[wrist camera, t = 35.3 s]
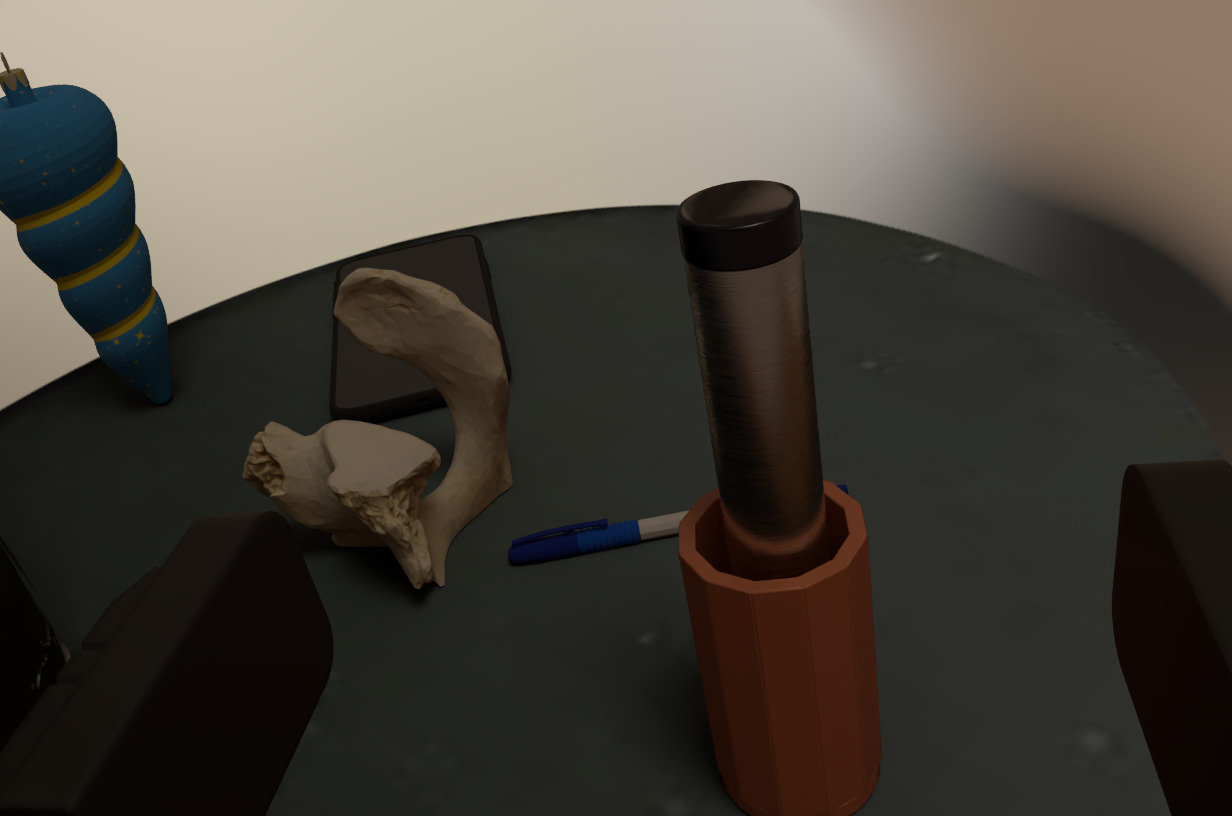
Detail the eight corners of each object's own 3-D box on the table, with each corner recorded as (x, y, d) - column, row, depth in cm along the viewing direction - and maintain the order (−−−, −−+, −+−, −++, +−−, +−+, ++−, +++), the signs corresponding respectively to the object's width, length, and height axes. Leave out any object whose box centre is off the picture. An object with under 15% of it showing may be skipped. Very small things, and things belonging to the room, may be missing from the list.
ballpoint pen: (511, 576, 33) (504, 551, 33) (511, 558, 34) (503, 533, 33) (850, 505, 33) (848, 479, 33) (842, 489, 34) (839, 463, 33)
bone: (252, 642, 30) (175, 286, 30) (286, 608, 36) (222, 314, 36) (557, 569, 31) (483, 228, 31) (538, 548, 38) (476, 265, 38)
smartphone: (324, 418, 41) (333, 263, 54) (331, 438, 42) (339, 279, 54) (513, 371, 42) (479, 228, 55) (518, 391, 42) (483, 245, 55)
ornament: (215, 359, 50) (74, 23, 42) (234, 405, 45) (80, 41, 38) (99, 401, 48) (-71, 59, 40) (107, 452, 44) (-80, 83, 36)
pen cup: (778, 860, 23) (742, 619, 20) (691, 747, 26) (645, 520, 23) (915, 778, 24) (905, 537, 21) (816, 678, 27) (793, 452, 24)
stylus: (791, 805, 24) (716, 239, 17) (741, 744, 25) (653, 205, 18) (866, 761, 24) (824, 199, 17) (812, 704, 26) (754, 169, 19)
